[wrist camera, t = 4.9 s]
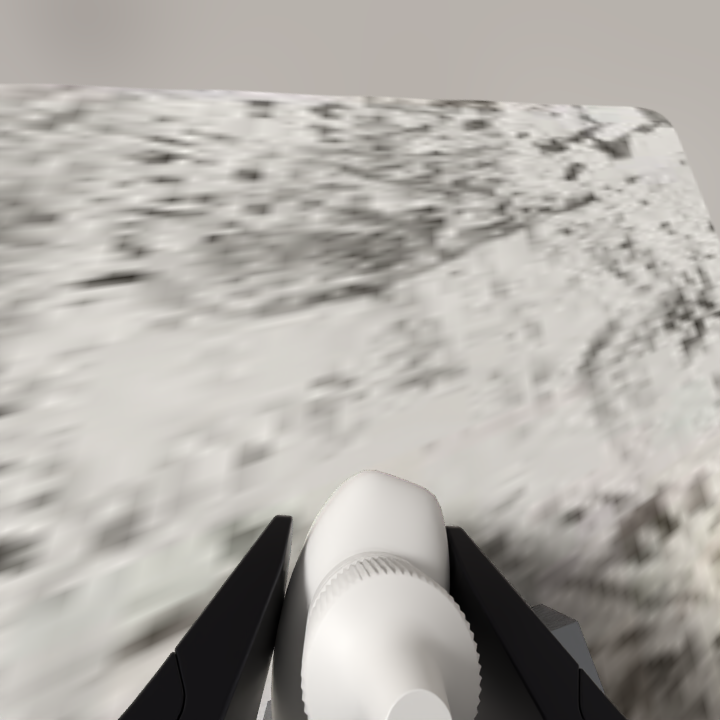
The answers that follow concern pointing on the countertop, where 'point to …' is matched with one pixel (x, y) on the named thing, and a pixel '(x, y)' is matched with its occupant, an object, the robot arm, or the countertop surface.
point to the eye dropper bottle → (374, 613)
